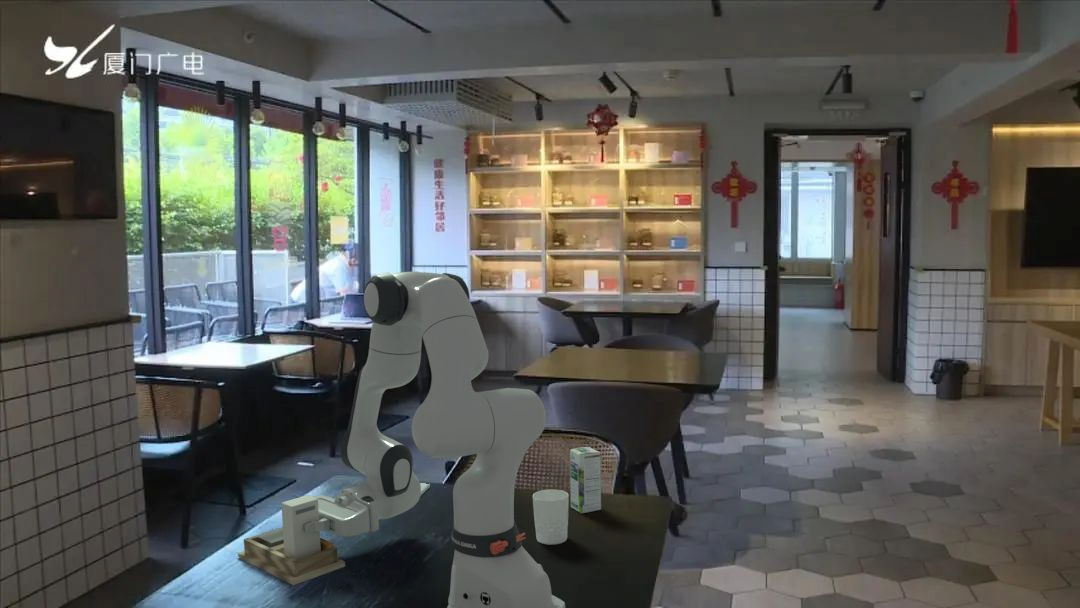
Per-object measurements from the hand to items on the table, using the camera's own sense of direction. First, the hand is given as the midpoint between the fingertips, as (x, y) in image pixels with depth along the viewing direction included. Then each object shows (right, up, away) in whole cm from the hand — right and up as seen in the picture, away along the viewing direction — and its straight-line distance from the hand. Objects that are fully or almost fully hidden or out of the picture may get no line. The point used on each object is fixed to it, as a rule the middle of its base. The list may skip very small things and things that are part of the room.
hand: (297, 525), depth 176 cm
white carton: (+1, -7, +1) cm, 7 cm away
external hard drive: (+15, -5, +48) cm, 51 cm away
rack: (-3, -9, +5) cm, 10 cm away
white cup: (+52, -7, +14) cm, 54 cm away
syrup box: (+61, -5, +33) cm, 69 cm away
